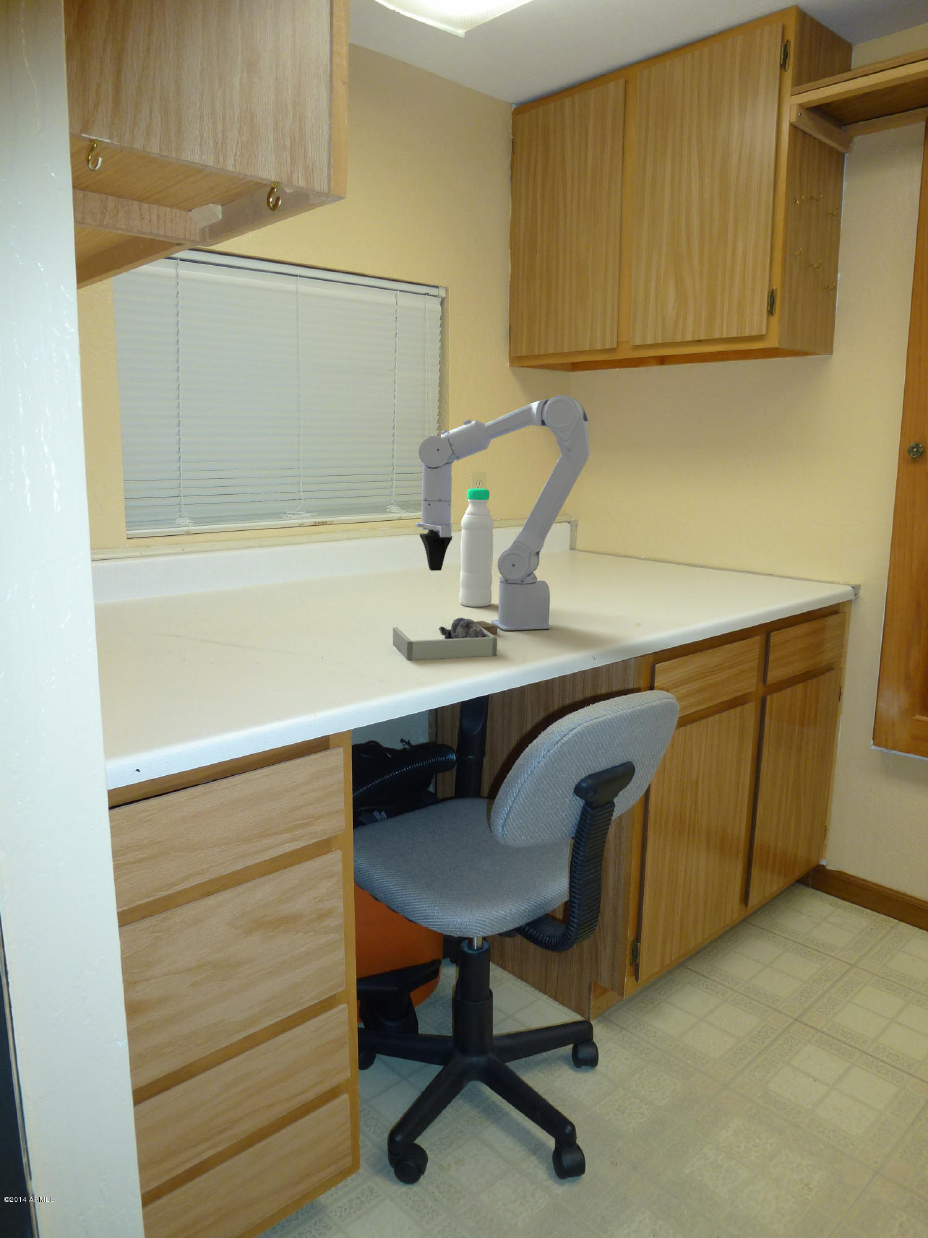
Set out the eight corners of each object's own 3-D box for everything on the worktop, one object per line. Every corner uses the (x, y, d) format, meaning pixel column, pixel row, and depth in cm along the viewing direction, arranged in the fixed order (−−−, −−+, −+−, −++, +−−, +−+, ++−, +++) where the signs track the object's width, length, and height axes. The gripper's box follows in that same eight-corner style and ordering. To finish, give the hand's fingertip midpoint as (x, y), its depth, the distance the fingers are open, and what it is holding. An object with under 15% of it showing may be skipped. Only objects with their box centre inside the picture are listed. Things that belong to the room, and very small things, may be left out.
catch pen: (476, 640, 155) (476, 624, 154) (496, 655, 144) (497, 637, 143) (392, 644, 150) (392, 627, 150) (407, 660, 140) (407, 642, 139)
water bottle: (488, 608, 184) (492, 490, 179) (456, 606, 186) (458, 488, 181) (494, 602, 191) (497, 488, 186) (462, 600, 192) (465, 487, 187)
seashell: (434, 643, 151) (469, 654, 143) (436, 613, 151) (471, 622, 143) (459, 642, 154) (494, 652, 147) (461, 612, 154) (496, 621, 146)
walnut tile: (481, 631, 164) (482, 620, 164) (497, 636, 160) (497, 625, 160) (459, 633, 162) (460, 623, 161) (475, 639, 157) (475, 628, 157)
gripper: (407, 497, 172) (406, 565, 175) (425, 503, 159) (424, 576, 162) (441, 497, 174) (440, 564, 177) (462, 503, 161) (460, 575, 164)
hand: (435, 570), depth 169 cm, fingers closed
